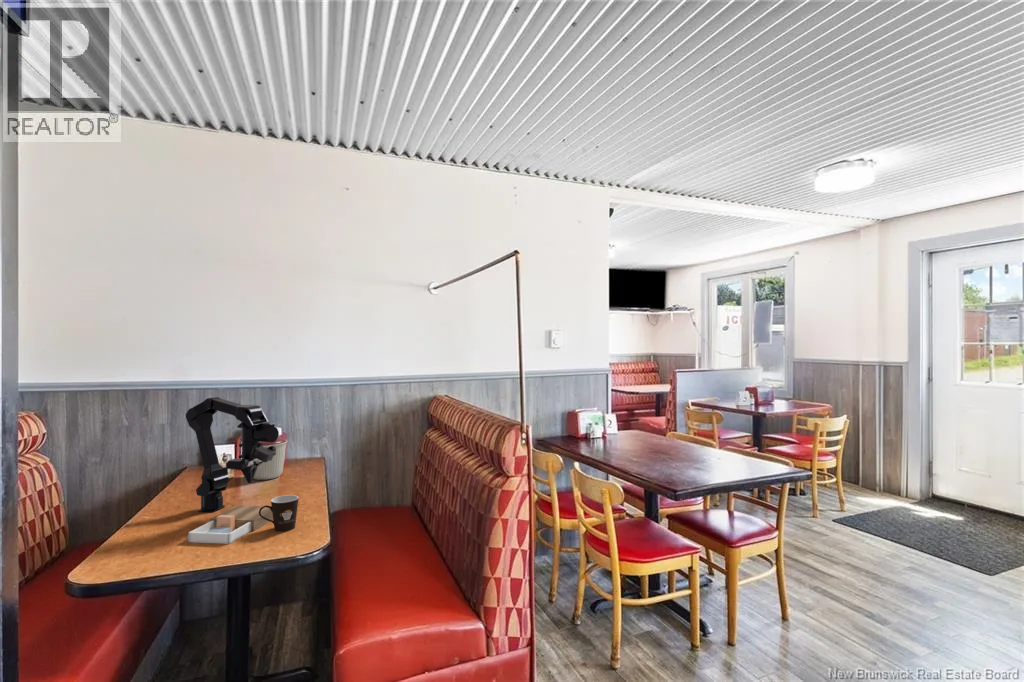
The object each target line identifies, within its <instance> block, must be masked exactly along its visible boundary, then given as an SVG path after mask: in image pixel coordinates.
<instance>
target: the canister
mask: <svg viewBox="0 0 1024 682" xmlns="http://www.w3.org/2000/svg"><path fill="white" fill-rule="evenodd" d="M259 442H261V441H259ZM262 444H263V447H265V448H266V447H267V448H269V447H270V446H275V447H276V455H274V456H273V458H272V460H271V461H268V462H263V463H262V464H261V465H260V466H258V468H257V470H256V472H255V475H254V478H253V480H257V481H265V480H272V479H276V478H278V477H280V476H281V475H282V474H283V471H284V464H285V457H286V456H285V455H286V449H287V448H286V447H287V444H288V439H285V438H284V437H280V436H278V438H277V440H276V441H275V442H273V443H271V442H262ZM260 462H262V461H261V460H260Z"/></svg>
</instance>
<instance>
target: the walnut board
mask: <svg viewBox="0 0 1024 682" xmlns="http://www.w3.org/2000/svg"><path fill="white" fill-rule="evenodd" d="M261 507H263V505H258V506H256V505H234V506H232V507H231V508H228V509H227V510H224V511H222V512H220V513H218V514H216V515H214V516H212V517H210V518H209V522H210V521H212V520H214V528H215V527H217V516H220V515H235V529H238V528H239V527H241V526H243V525H245V524H246V523H248V522H251V531H252V532H255V531H257V530H258V529H259V528H261V527H263V526H265V525H266V524H268V523H271V522H270V521H267V520H265V519H263V518H262V517H261V516H260V515H259V510H260V508H261ZM261 515H262V516H263V517H265V518H267V519H270V520H273V513H272V511H271V509H270V508H268V507H265V508H263V509H262V510H261ZM251 531H250V532H251Z"/></svg>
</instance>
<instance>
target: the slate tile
mask: <svg viewBox="0 0 1024 682" xmlns="http://www.w3.org/2000/svg"><path fill="white" fill-rule="evenodd" d="M207 533H231V528H228V527H215V528H213V529H212V530H210V531H208V532H207Z"/></svg>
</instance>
